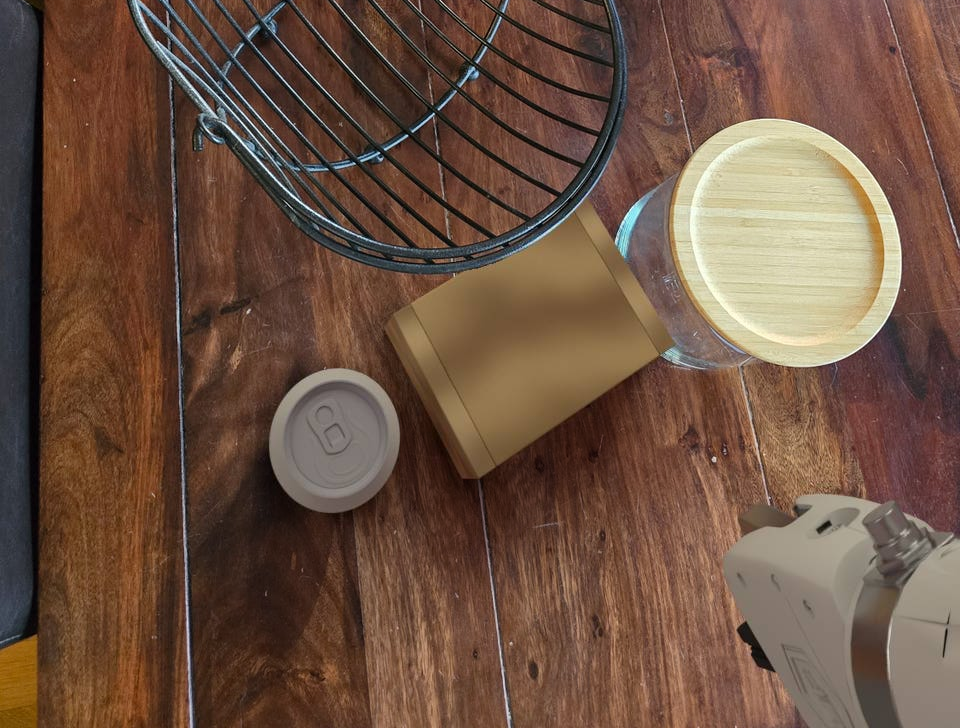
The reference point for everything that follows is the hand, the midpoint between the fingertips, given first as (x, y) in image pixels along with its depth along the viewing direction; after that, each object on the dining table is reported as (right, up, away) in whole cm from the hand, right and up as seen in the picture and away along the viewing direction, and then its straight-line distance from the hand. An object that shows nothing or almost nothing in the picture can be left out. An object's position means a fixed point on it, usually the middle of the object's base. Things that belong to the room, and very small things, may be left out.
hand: (771, 625), depth 52 cm
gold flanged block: (-11, +4, +22) cm, 25 cm away
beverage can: (-22, -1, +18) cm, 29 cm away
